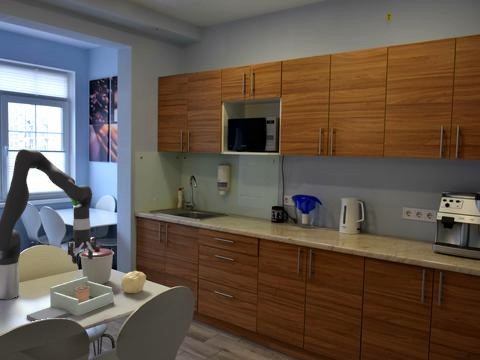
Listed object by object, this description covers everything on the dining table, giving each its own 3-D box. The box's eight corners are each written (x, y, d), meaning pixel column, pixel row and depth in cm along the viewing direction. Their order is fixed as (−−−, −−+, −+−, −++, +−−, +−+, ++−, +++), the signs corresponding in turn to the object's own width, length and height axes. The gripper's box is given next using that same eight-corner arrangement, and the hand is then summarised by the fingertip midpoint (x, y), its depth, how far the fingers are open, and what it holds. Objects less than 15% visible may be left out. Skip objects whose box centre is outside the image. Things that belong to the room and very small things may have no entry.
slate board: (26, 318, 175) (26, 315, 175) (51, 309, 185) (51, 306, 185) (43, 325, 169) (43, 321, 168) (68, 315, 179) (68, 312, 179)
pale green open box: (50, 306, 189) (50, 287, 188) (86, 293, 206) (86, 276, 205) (78, 315, 178) (78, 296, 178) (113, 302, 196) (113, 283, 195)
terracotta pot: (72, 304, 191) (72, 288, 190) (83, 300, 197) (83, 284, 196) (81, 307, 188) (81, 290, 187) (92, 303, 193) (92, 287, 193)
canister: (74, 281, 224) (74, 244, 223) (105, 275, 237) (105, 240, 235) (87, 290, 211) (87, 250, 210) (119, 283, 223) (119, 246, 222)
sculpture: (137, 296, 203) (137, 275, 203) (116, 293, 207) (116, 273, 207) (149, 289, 214) (149, 269, 214) (129, 286, 218) (129, 267, 217)
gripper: (89, 224, 198) (89, 257, 199) (63, 229, 186) (64, 263, 187) (99, 226, 194) (100, 259, 195) (74, 230, 182) (74, 266, 183)
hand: (82, 261), depth 191 cm, fingers open, 8 cm apart
